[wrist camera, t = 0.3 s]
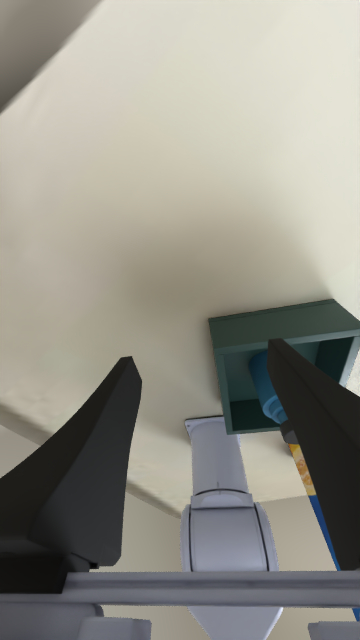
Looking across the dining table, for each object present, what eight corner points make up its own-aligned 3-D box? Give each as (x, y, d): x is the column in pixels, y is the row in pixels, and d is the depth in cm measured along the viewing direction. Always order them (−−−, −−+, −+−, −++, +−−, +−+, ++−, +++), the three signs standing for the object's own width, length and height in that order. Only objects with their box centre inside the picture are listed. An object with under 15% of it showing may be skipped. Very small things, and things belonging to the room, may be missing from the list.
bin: (311, 392, 28) (331, 425, 25) (221, 402, 30) (226, 435, 26) (333, 298, 20) (367, 327, 17) (208, 318, 22) (213, 348, 18)
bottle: (287, 374, 26) (325, 447, 19) (248, 379, 26) (271, 451, 19) (290, 346, 23) (336, 419, 16) (247, 352, 24) (274, 425, 17)
